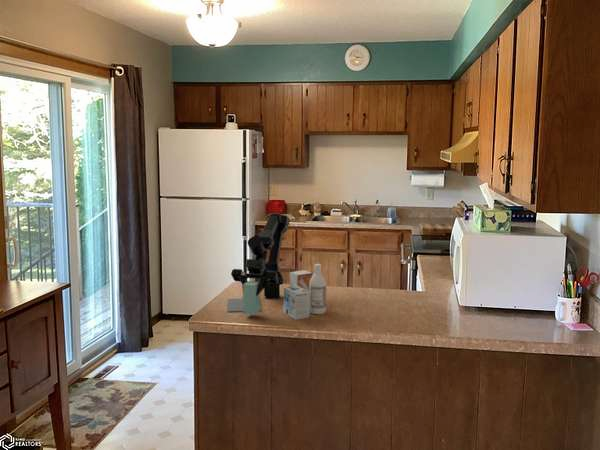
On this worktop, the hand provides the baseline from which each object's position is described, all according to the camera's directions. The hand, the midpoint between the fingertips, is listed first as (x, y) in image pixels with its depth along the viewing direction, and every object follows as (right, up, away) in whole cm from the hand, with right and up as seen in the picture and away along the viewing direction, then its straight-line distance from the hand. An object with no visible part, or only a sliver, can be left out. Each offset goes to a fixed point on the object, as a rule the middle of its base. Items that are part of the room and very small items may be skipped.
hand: (250, 294), depth 215 cm
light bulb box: (+18, -9, +5) cm, 21 cm away
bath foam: (+27, -8, +9) cm, 29 cm away
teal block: (0, -7, +3) cm, 8 cm away
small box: (+20, -6, +24) cm, 32 cm away
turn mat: (-4, -7, +17) cm, 19 cm away
